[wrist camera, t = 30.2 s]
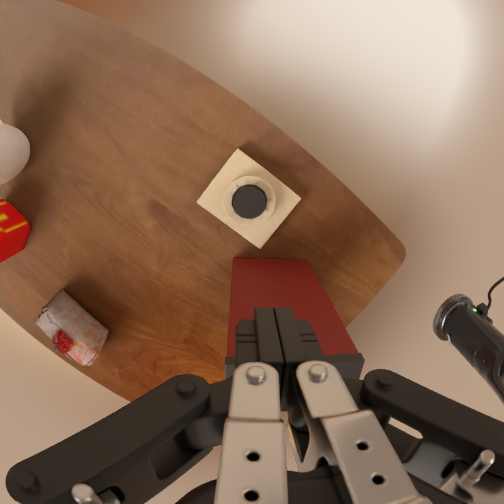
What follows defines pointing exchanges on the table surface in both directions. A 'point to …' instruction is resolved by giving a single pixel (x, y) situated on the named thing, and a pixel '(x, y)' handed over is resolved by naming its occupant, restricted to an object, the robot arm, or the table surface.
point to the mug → (12, 152)
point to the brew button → (249, 202)
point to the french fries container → (12, 230)
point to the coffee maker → (285, 296)
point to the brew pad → (241, 175)
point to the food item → (72, 329)
